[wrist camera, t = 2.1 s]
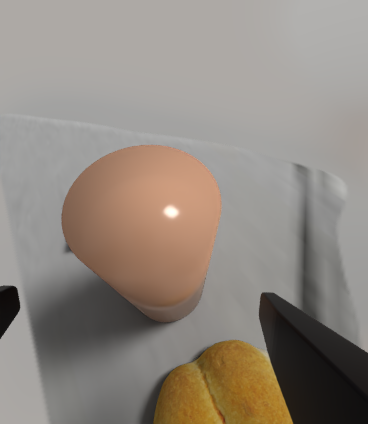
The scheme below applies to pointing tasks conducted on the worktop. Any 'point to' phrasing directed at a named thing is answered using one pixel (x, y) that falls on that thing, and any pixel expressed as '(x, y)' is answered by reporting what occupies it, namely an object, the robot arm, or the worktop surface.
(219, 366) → the bread roll
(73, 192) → the peach cylinder
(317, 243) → the worktop surface
